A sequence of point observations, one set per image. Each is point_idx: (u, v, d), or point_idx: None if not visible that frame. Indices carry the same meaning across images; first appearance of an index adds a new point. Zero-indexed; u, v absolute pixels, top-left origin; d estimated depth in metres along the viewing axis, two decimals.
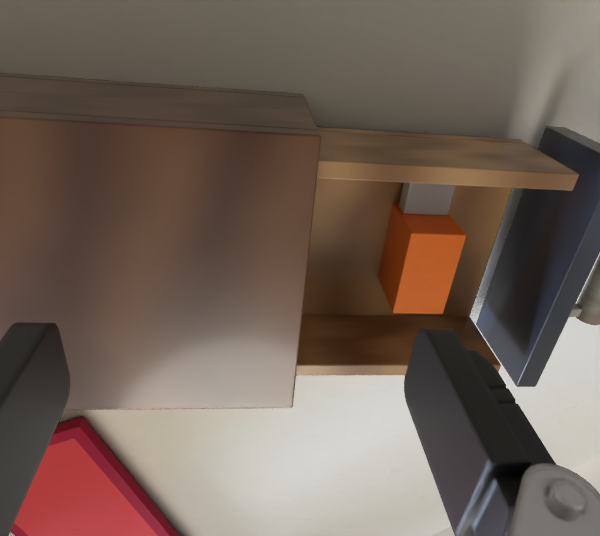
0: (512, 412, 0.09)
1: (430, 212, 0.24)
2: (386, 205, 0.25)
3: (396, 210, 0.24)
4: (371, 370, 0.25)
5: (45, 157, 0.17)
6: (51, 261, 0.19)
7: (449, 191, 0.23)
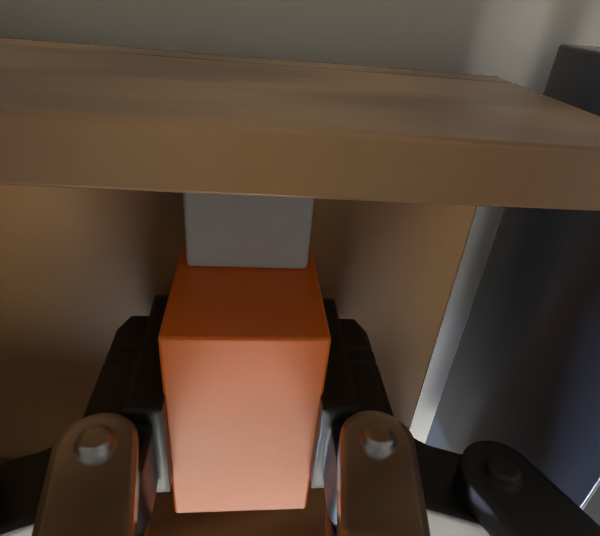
0: (369, 371, 0.10)
1: (258, 262, 0.09)
2: (172, 239, 0.10)
3: (180, 254, 0.10)
4: None
5: None
6: None
7: (300, 208, 0.09)
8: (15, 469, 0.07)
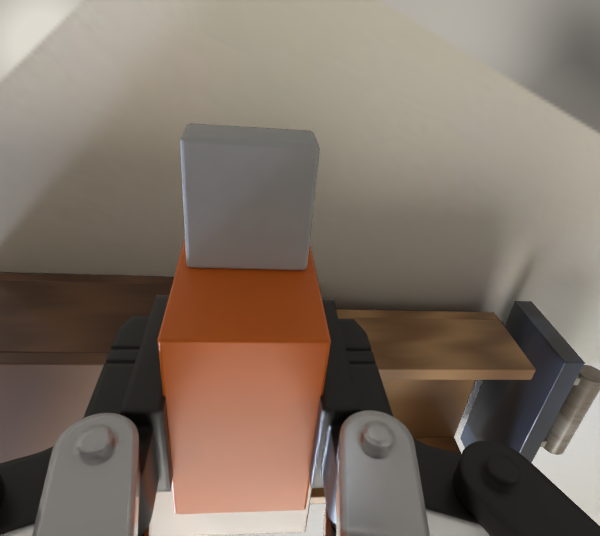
0: (368, 371, 0.10)
1: (258, 264, 0.09)
2: None
3: (180, 256, 0.10)
4: None
5: None
6: None
7: (300, 210, 0.09)
8: (16, 469, 0.07)
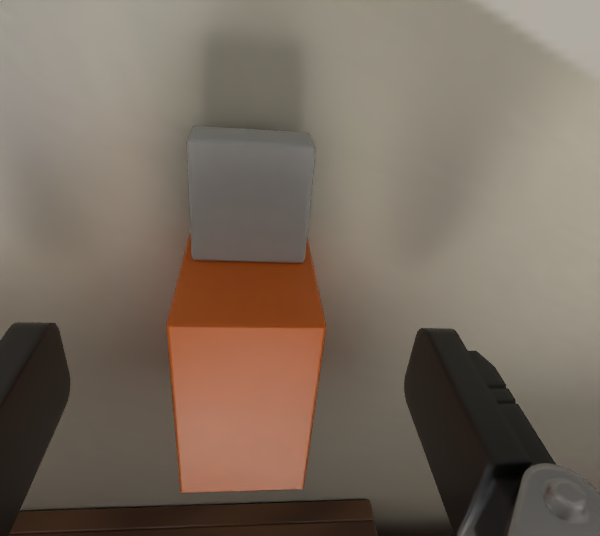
0: (512, 412, 0.09)
1: (259, 257, 0.10)
2: None
3: None
4: None
5: None
6: None
7: (297, 206, 0.09)
8: None
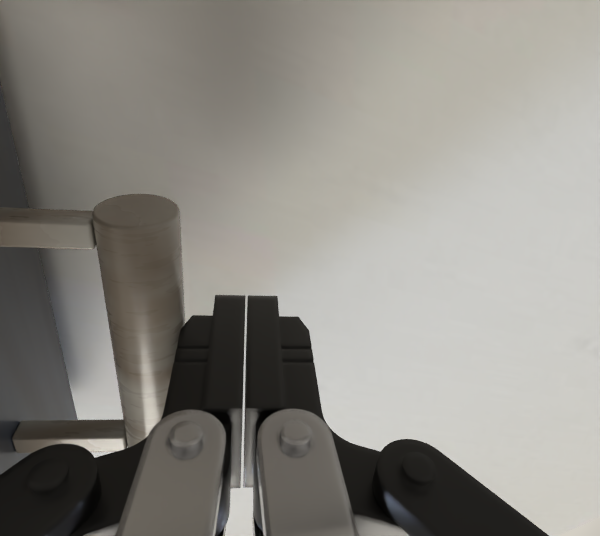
0: (304, 369, 0.09)
1: None
2: None
3: None
4: None
5: None
6: None
7: None
8: (107, 465, 0.07)
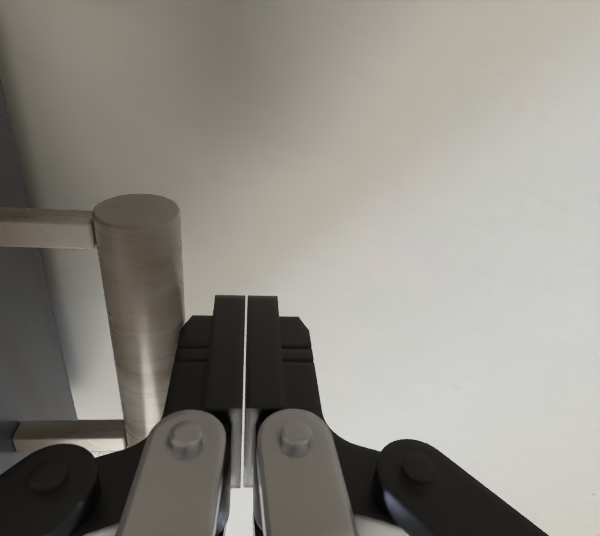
0: (304, 369, 0.09)
1: None
2: None
3: None
4: None
5: None
6: None
7: None
8: (107, 466, 0.07)
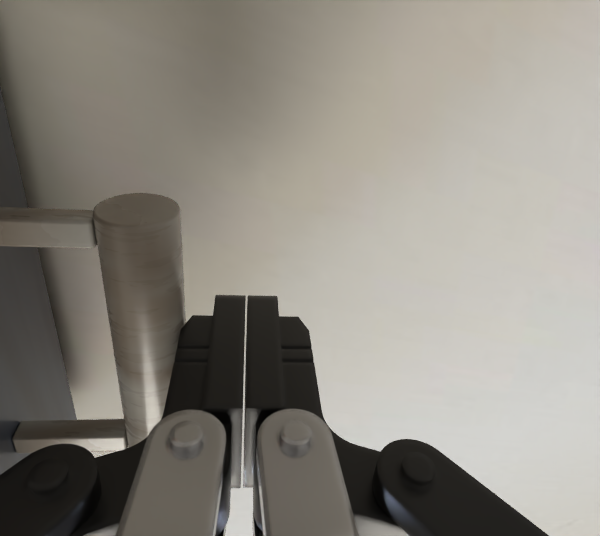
0: (304, 369, 0.09)
1: None
2: None
3: None
4: None
5: None
6: None
7: None
8: (107, 465, 0.07)
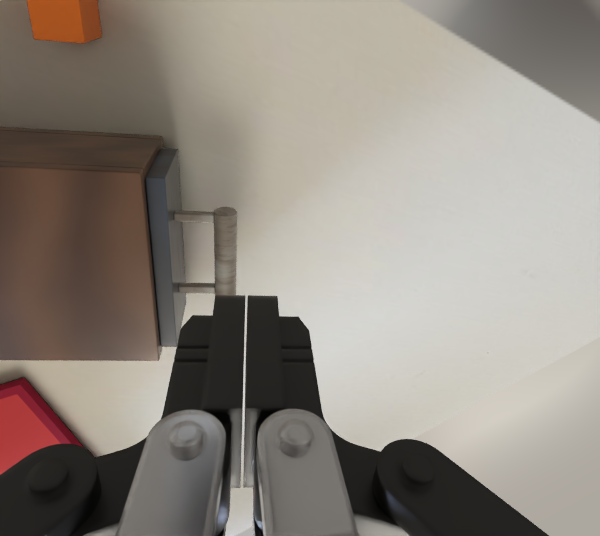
0: (304, 369, 0.09)
1: None
2: None
3: None
4: None
5: None
6: None
7: None
8: (107, 465, 0.07)
